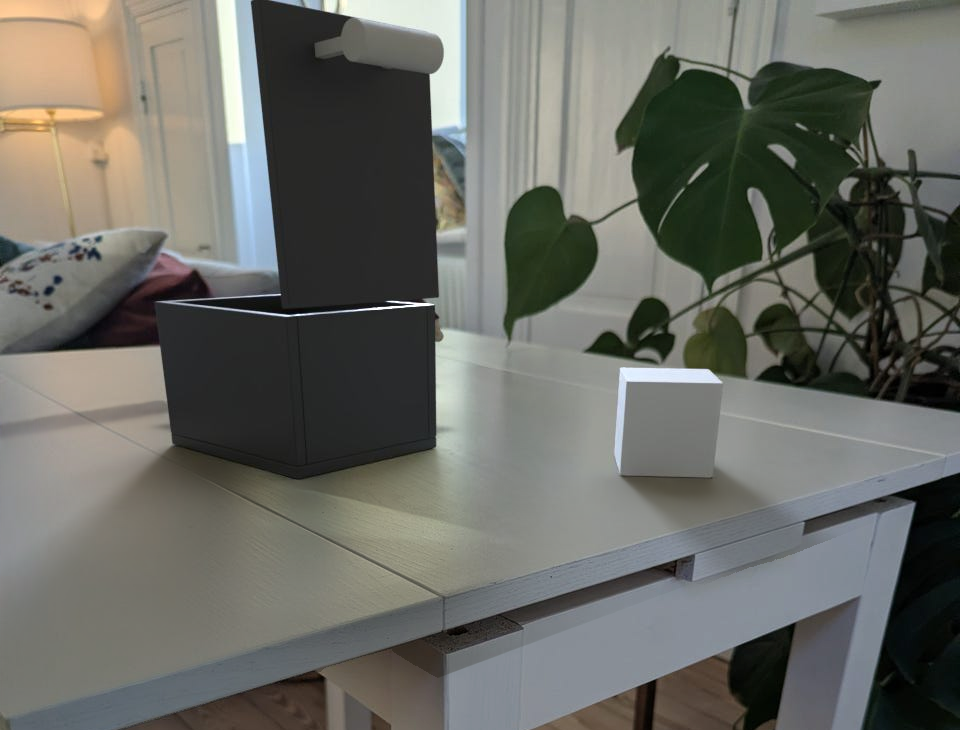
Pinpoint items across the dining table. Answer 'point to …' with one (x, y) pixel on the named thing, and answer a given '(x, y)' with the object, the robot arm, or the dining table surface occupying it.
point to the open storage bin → (299, 381)
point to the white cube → (667, 422)
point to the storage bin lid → (348, 155)
